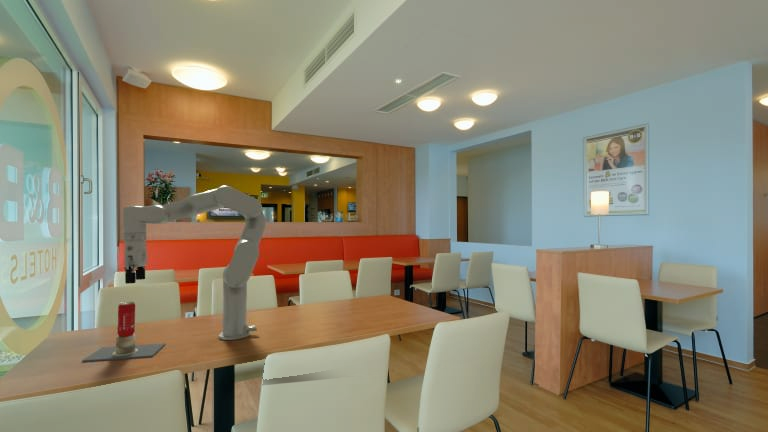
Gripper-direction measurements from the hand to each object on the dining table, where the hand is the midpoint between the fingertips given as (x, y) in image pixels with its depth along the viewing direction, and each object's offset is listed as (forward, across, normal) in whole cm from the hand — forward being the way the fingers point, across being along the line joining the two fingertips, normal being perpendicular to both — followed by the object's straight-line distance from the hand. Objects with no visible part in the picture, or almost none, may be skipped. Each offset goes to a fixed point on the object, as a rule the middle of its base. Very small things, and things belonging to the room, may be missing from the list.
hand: (135, 281), depth 144 cm
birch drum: (+25, -6, +1) cm, 26 cm away
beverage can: (+19, -6, +1) cm, 20 cm away
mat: (+26, -6, +1) cm, 27 cm away
